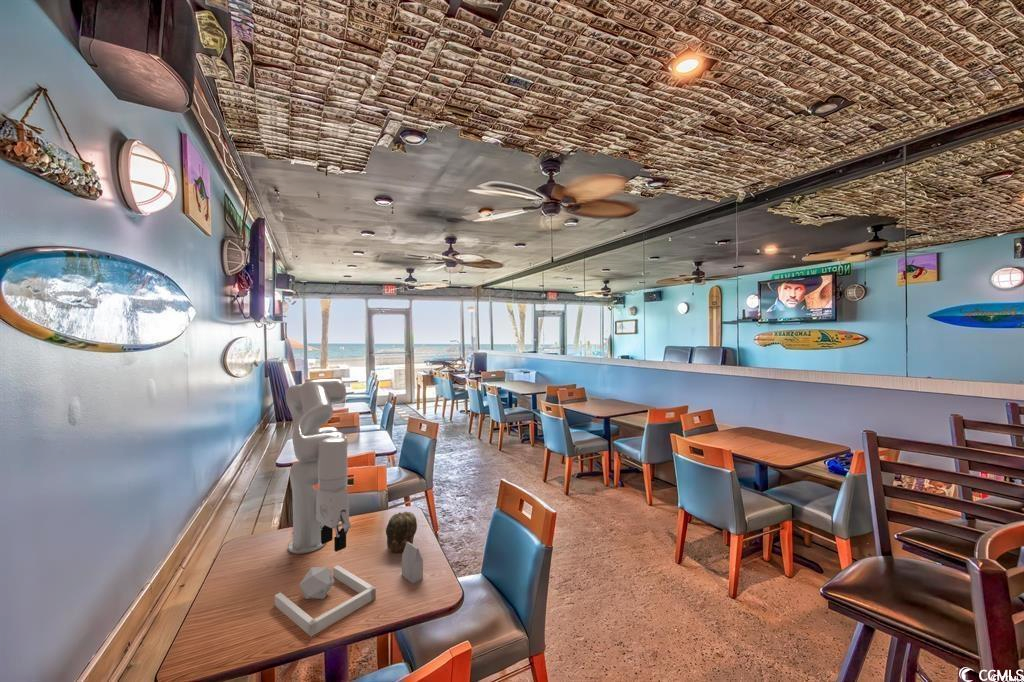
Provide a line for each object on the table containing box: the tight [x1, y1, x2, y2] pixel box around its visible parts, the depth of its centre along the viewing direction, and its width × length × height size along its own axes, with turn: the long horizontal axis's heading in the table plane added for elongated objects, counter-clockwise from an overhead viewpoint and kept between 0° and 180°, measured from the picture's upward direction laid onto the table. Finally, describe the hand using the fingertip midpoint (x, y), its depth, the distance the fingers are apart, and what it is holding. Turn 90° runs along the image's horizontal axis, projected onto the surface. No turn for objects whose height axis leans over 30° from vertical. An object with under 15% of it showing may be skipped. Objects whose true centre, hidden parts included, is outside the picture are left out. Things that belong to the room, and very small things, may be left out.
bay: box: [274, 564, 377, 637], centre depth 116 cm, size 20×19×3 cm
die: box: [299, 566, 336, 600], centre depth 119 cm, size 8×9×10 cm
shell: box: [385, 511, 418, 554], centre depth 147 cm, size 11×11×12 cm
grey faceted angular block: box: [401, 541, 424, 584], centre depth 129 cm, size 4×7×10 cm, turn 45°
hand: (333, 545), depth 114 cm, fingers open, 6 cm apart
